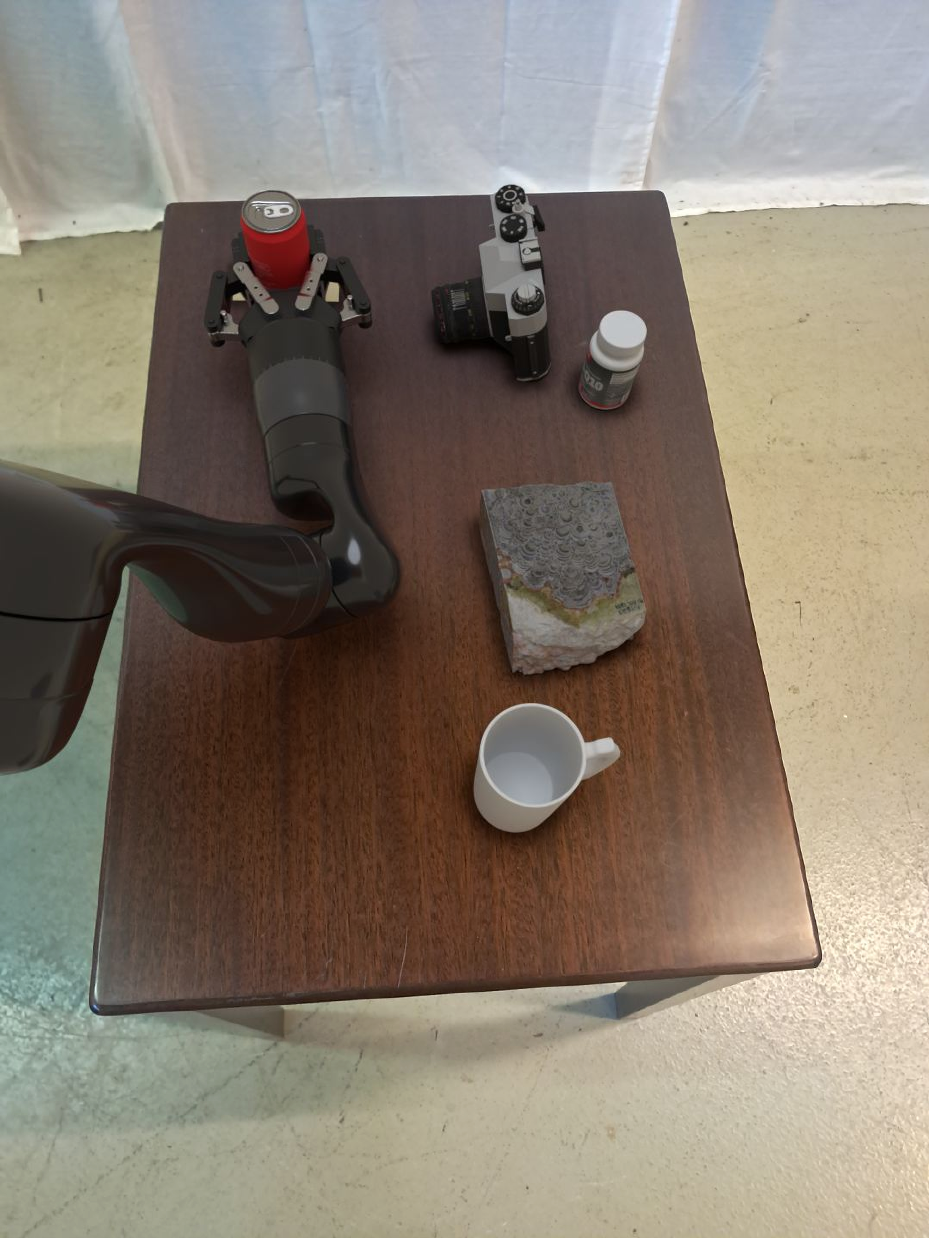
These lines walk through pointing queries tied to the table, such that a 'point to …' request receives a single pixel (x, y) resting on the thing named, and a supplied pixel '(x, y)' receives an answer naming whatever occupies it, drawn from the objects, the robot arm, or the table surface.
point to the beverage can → (276, 238)
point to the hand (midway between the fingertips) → (276, 236)
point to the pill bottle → (613, 360)
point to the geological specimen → (560, 573)
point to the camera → (503, 289)
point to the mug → (533, 765)
